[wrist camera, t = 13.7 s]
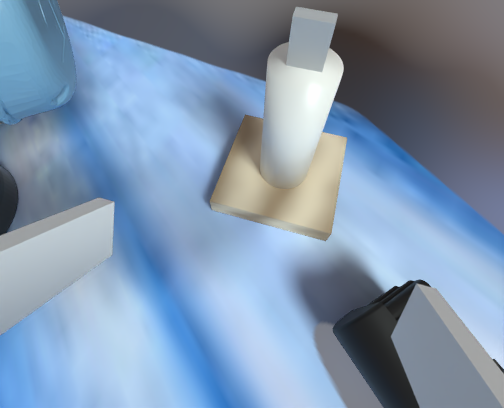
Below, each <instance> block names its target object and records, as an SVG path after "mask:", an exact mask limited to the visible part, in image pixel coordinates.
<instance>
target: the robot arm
mask: <svg viewBox="0 0 504 408" xmlns="http://www.w3.org/2000/svg"><path fill="white" fill-rule="evenodd" d="M75 87H76V68H75V61H74V56H73V52H72V47H71V44H70V40H69V36H68V33H67V29H66V26H65V23H64V19H63V16H62V14H61V10H60V7H59V4H58V2H57V0H0V124H4V123H5V124H9V125H11V124H16V123H18V122H20V121H21V120H22V118H25V117H28V116H32V115H35V114H39V113H42V112H46V111H49V110H52V109H56V108H59V107H61V106H63V105H65V104H66V103H67V102H68V101H69V100H70V99H71V98H72V96H73V94H74V91H75ZM17 201H18V192H17V187H16V183H15V181H14V179H13V177H12V176H11V174H10V173H9V172H8V171H7V170H6V169H5V168H3V167H2V166H0V335H1V334H3V333H4V332H6V331H7V330H8V329H10V328H11V327H13V326H14V325H15V324H17V323H18V322H20V321H21V320H22V319H24V318H25V317H27V316H28V315H29V314H31V313H32V312H34V311H35V310H36V309H38V308H39V307H41V306H42V305H43V304H45V303H46V302H48V301H49V300H50V299H52V298H53V297H55V296H56V295H57V294H59V293H60V292H62V291H63V290H64V289H66V288H67V287H68V286H70V285H71V284H73V283H74V282H75V281H77V280H78V279H80V278H81V277H82V276H84V275H85V274H87V273H88V272H89V271H91V270H92V269H94V268H95V267H96V266H98V265H99V264H101V263H102V262H103V261H105V260H106V259H108V258H109V257H110V256H112V248H113V225H114V201H110V200H106V199H103V198H96V199H94V200H91V201H89V202H86V203H83V204H81V205H78V206H76V207H73V208H70V209H68V210H65V211H63V212H60V213H57V214H55V215H52V216H50V217H47V218H44V219H42V220H39V221H37V222H34V223H32V224H29V225H26V226H24V227H21V228H19V229H16V230H13V231H11V232H8V233H6V231H7V230H8V228H9V226H10V224H11V222H12V220H13V217H14V215H15V211H16V207H17ZM5 233H6V234H5ZM391 338H392V341H393V343H394V346H395V348H396V350H397V353H398V355H399V358H400V360H401V363H402V365H403V368H404V370H405V373H406V375H407V377H408V380H409V382H410V385H411V387H412V390H413V392H414V395H415V397H416V399H417V402H418V404H419V407H420V408H504V374H503V372H502V371H501V370H500V368H499V367H498V366H497V365H496V363H495V362H494V361H493V360H492V358H491V357H490V356H489V355H488V353H487V352H486V351H485V350H484V348H483V347H482V346H481V344H480V343H479V342H478V341H477V339H476V338H475V337H474V336H473V334H472V333H471V332H470V331H469V329H468V328H467V327H466V326H465V324H464V323H463V322H462V320H461V319H460V318H459V317H458V315H457V314H456V313H455V312H454V310H453V309H452V308H451V307H450V305H449V304H448V303H447V302H446V300H445V299H444V298H443V296H442V295H441V294H440V293H439V291H438V290H437V289H435V288H432V287H428V286H424V285H421V284H417V283H416V285H415V287H414V290H413V292H412V294H411V296H410V298H409V300H408V302H407V304H406V306H405V308H404V310H403V312H402V314H401V316H400V319H399V321H398V323H397V325H396V327H395V329H394V331H393V333H392V335H391Z"/></svg>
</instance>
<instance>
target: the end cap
mask: <svg viewBox="0 0 504 408" xmlns="http://www.w3.org/2000/svg"><path fill="white" fill-rule="evenodd" d="M416 283H417V284H421V285H424V286H428V287H431V286H430V285H429V284H428V283H427V282H425V281H423V280H416V281H411V280H410V281H408V282H406V283H405V284H404V285H402V286H401V287H397V286H394V287H393V288H391V289H390V290H389V291H387V292H386V293H385V294H383V295H381V296H380V297H378V298H377V299H376V300H374V301H373V302H372V303H370V304H369V305H367V306H365V307H362V308H359V309H356V310H352V311H351V312H349V313H348V314H347V315H345V316H344V317H343V318H342V319H341V320H339V321H338V322H337V323H336V324H335V325H334V327H333V333H334V334H335V336H336V337H337V339H338V340H339V342H340V343H341V345H342V346H343V348H344V349H345V351H346V352H347V354H348V355H349V357H350V358H351V360H352V361H353V363H354V364H355V366H356V367H357V369H358V370H359V371H360V373H361V374H362V376H363V378H364V379H365V380H366V382H367V383H368V385H369V386H370V388H371V389H372V391H373V392H374V394H375V395H376V397H377V398H378V400H379V401H380V403H381V404H382V406H383V407H384V408H420V407H419V404H418V402H417V399H416V397H415V395H414V392H413V390H412V387H411V385H410V382H409V380H408V377H407V375H406V373H405V370H404V368H403V365H402V363H401V360H400V358H399V355H398V353H397V350H396V348H395V346H394V343H393V341H392V338H391V335H392V333H393V331H394V329H395V327H396V325H397V323H398V321H399V319H400V316H401V314H402V312H403V310H404V308H405V306H406V304H407V302H408V300H409V298H410V296H411V294H412V292H413V290H414V287H415V285H416ZM492 360H493V361H494V362H495V363H496V365H497V366H498V367H499V368H500V370H501V371H502V372H503V374H504V369H503V368H502V367H501V366H500V365H499V364H498V362H497V361H496V360H495V359H492Z"/></svg>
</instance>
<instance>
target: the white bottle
mask: <svg viewBox="0 0 504 408" xmlns="http://www.w3.org/2000/svg"><path fill="white" fill-rule="evenodd" d="M337 16H338V14H335V13H329V12H323V11H317V10H312V9H306V8H300V7H296V9H295V12H294V14H293V18H292V26H291V33H290V39H289V42H288V43H284V44H282V45H280V46H278V47H277V48H275V49H274V50H273V51H272V52H271V53H270V55H269V57H268V63H267V76H266V89H265V103H264V117H263V131H262V145H261V159H260V173H261V175H262V177H263V179H264V180H265V181H266V182H267V183H268V184H270V185H271V186H273V187H276V188H280V189H291V188H294V187H297V186H298V185H300V184H301V183H302V182H303V181H304V180H305V178H306V176H307V173H308V170H309V167H310V165H311V162H312V159H313V156H314V153H315V150H316V148H317V145H318V142H319V139H320V136H321V133H322V131H323V128H324V125H325V122H326V119H327V116H328V114H329V111H330V108H331V105H332V102H333V99H334V97H335V94H336V91H337V88H338V85H339V82H340V79H341V77H342V74H343V63H342V60H341V59H340V57H339V56H338V55H337V54H336V53H335V52H334V51H333V50H331V49H330V48H329V46H330V42H331V39H332V34H333V31H334V28H335V24H336V20H337Z"/></svg>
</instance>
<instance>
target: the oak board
mask: <svg viewBox="0 0 504 408" xmlns="http://www.w3.org/2000/svg"><path fill="white" fill-rule="evenodd" d="M262 131H263V119H262V118H258V117H253V116H249V115H245V116H244V119H243V121H242V123H241V126H240V128H239V131H238V133H237V136H236V138H235V141H234V143H233V145H232V148H231V150H230V153H229V155H228V158H227V160H226V162H225V165H224V167H223V170H222V172H221V175H220V177H219V180H218V182H217V184H216V187H215V189H214V192H213V194H212V197H211V199H210V204H211V208H212V210H214V211H217V212H221V213H225V214H228V215H232V216H236V217H239V218H243V219H247V220H250V221H254V222H258V223H261V224H265V225H269V226H272V227H276V228H280V229H283V230H287V231H291V232H294V233H298V234H302V235H305V236H309V237H313V238H316V239H320V240H324V241H326V240H327V239H328V237H329V236H330V235H331V232H332V226H333V220H334V214H335V208H336V202H337V196H338V190H339V184H340V178H341V172H342V166H343V160H344V154H345V148H346V142H347V138H346V137H342V136H337V135H333V134H328V133H324V132H322V133H321V136H320V139H319V142H318V145H317V148H316V150H315V153H314V156H313V159H312V162H311V165H310V167H309V170H308V173H307V176H306V178H305V180H304V181H303V182H302V183H301V184H300V185H298V186H297V187H294V188H291V189H280V188H276V187H273V186H271V185H270V184H268V183H267V182H266V181H265V180H264V179H263V177H262V175H261V173H260V159H261V145H262Z"/></svg>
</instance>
